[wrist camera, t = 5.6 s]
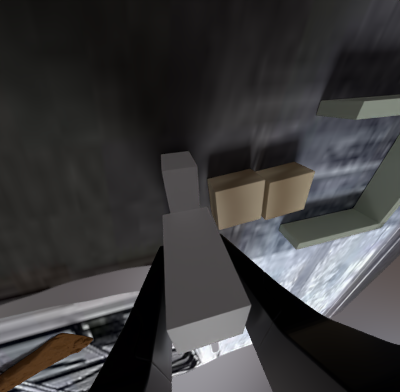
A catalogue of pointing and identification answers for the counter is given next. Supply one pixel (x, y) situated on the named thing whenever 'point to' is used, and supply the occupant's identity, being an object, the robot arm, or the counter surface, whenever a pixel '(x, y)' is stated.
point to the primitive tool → (43, 358)
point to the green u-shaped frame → (375, 191)
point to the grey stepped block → (196, 265)
